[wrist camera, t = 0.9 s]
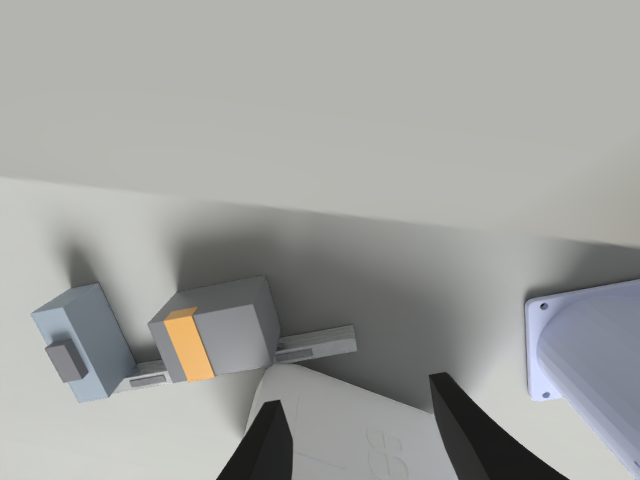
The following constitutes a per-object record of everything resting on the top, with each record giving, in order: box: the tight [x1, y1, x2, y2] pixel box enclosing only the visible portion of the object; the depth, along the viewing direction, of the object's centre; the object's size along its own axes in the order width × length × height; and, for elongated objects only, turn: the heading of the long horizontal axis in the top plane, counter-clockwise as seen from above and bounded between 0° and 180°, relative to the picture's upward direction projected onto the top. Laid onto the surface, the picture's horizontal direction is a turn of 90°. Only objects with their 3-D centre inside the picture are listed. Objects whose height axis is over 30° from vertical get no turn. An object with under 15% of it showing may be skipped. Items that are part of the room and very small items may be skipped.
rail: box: [112, 325, 357, 394], centre depth 23 cm, size 18×1×2 cm, turn 103°
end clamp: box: [31, 283, 136, 403], centre depth 21 cm, size 2×6×4 cm, turn 12°
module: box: [148, 274, 281, 383], centre depth 21 cm, size 6×4×4 cm
